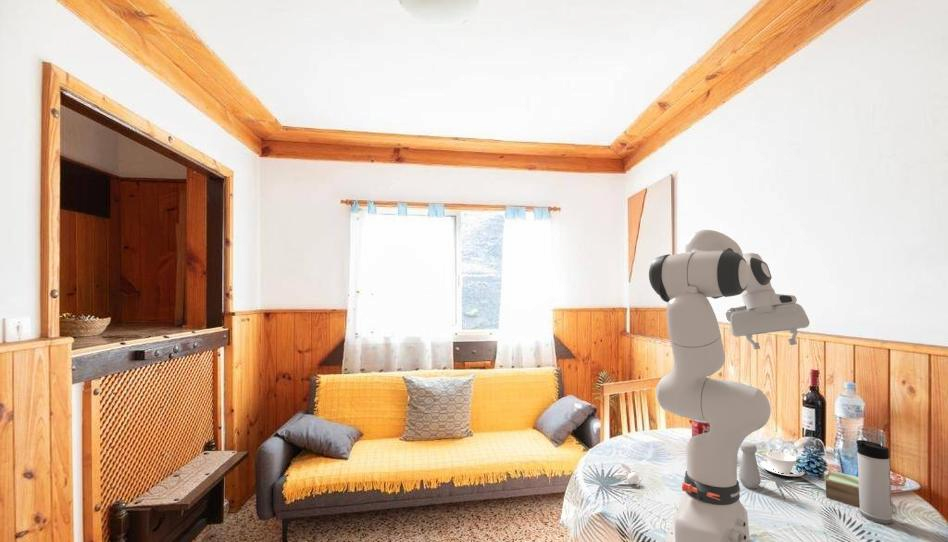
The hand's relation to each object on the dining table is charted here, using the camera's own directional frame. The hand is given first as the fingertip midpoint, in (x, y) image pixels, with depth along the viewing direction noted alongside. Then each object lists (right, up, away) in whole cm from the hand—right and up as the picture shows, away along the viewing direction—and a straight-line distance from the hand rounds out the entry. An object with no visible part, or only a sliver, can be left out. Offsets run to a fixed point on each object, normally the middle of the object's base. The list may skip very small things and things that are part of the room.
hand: (775, 346), depth 126 cm
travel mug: (+15, -43, -16) cm, 49 cm away
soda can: (-6, -45, +29) cm, 54 cm away
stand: (+18, -43, -5) cm, 47 cm away
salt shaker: (-6, -44, +3) cm, 45 cm away
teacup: (+11, -45, +12) cm, 47 cm away
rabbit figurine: (-43, -45, +6) cm, 63 cm away
